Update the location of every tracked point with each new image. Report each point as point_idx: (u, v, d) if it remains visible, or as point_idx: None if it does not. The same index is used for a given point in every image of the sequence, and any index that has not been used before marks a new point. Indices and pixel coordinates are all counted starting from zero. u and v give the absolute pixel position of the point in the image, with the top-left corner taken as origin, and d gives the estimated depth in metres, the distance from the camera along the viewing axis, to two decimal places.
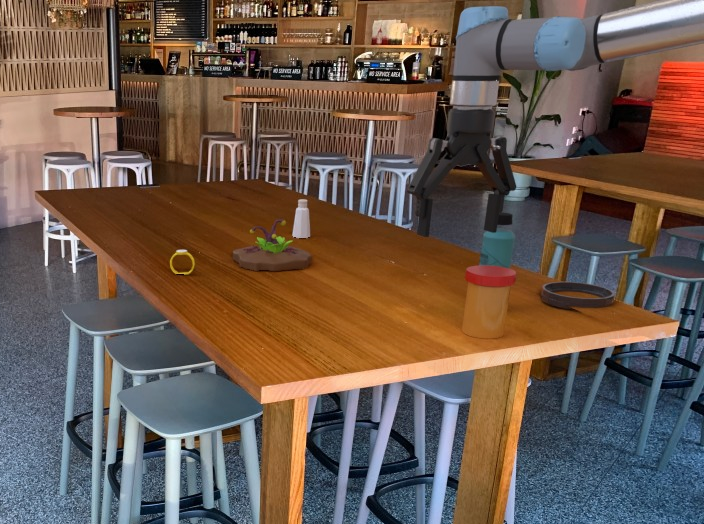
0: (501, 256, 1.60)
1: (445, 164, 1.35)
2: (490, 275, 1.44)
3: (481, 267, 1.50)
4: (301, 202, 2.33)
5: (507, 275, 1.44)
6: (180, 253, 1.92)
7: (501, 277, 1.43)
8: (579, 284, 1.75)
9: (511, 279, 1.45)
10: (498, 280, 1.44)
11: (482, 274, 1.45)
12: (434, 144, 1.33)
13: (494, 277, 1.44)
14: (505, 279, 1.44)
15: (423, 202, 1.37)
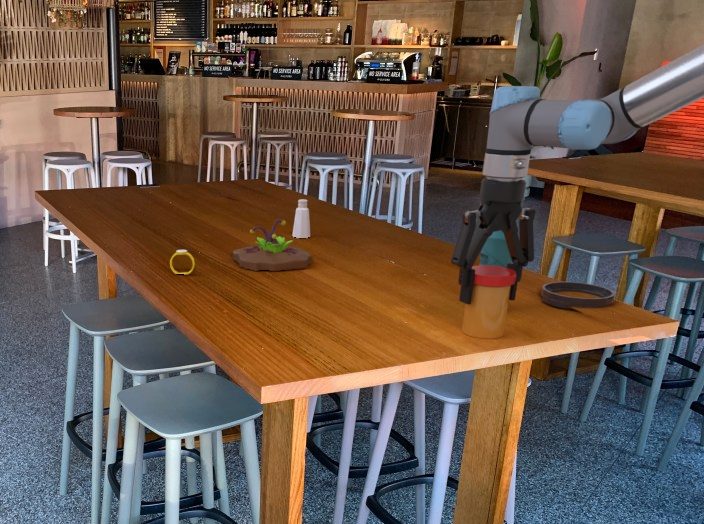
0: (501, 256, 1.60)
1: None
2: (490, 275, 1.44)
3: (481, 267, 1.50)
4: (301, 202, 2.33)
5: (507, 275, 1.44)
6: (180, 253, 1.92)
7: (501, 277, 1.43)
8: (579, 284, 1.75)
9: (511, 279, 1.45)
10: (498, 280, 1.44)
11: (482, 274, 1.45)
12: None
13: (494, 277, 1.44)
14: (505, 279, 1.44)
15: None
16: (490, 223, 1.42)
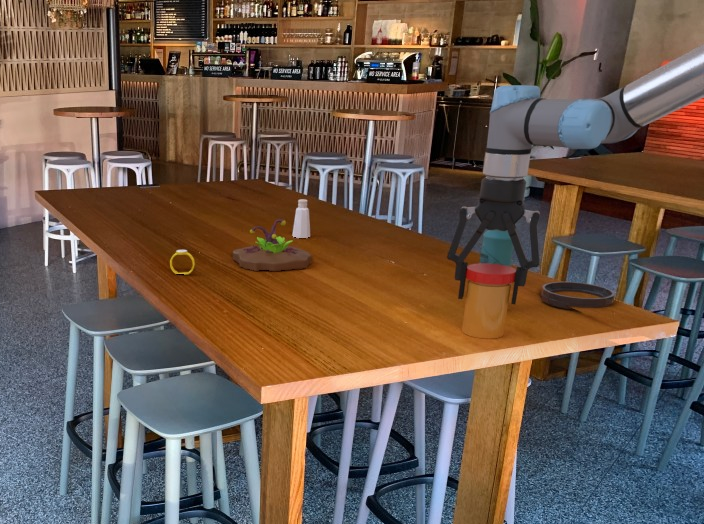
0: (501, 256, 1.60)
1: (475, 231, 1.45)
2: (505, 266, 1.49)
3: (491, 272, 1.45)
4: (301, 202, 2.33)
5: (488, 264, 1.51)
6: (180, 253, 1.92)
7: None
8: (579, 284, 1.75)
9: None
10: None
11: (510, 268, 1.48)
12: None
13: None
14: None
15: (459, 267, 1.49)
16: None
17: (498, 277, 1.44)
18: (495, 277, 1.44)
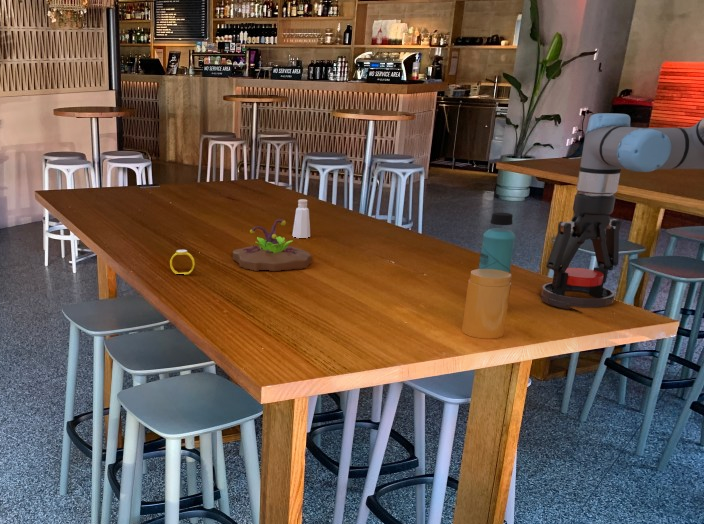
0: (501, 256, 1.60)
1: (574, 242, 1.64)
2: (579, 268, 1.71)
3: (590, 275, 1.65)
4: (301, 202, 2.33)
5: None
6: (180, 253, 1.92)
7: None
8: None
9: None
10: None
11: (586, 269, 1.70)
12: (564, 228, 1.62)
13: None
14: None
15: (560, 275, 1.66)
16: None
17: (599, 279, 1.65)
18: (598, 280, 1.65)
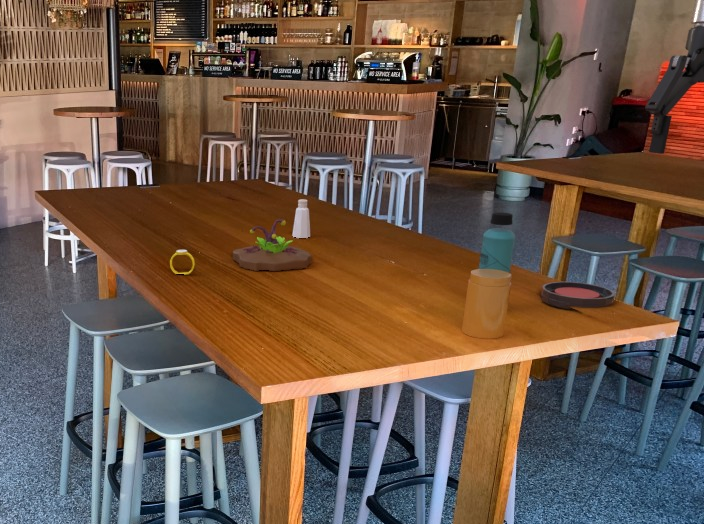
0: (501, 256, 1.60)
1: (685, 81, 1.40)
2: (576, 288, 1.73)
3: (586, 295, 1.67)
4: (301, 202, 2.33)
5: (561, 288, 1.73)
6: (180, 253, 1.92)
7: None
8: (579, 284, 1.75)
9: None
10: None
11: (583, 289, 1.72)
12: (678, 60, 1.38)
13: None
14: None
15: (662, 119, 1.41)
16: None
17: None
18: None
